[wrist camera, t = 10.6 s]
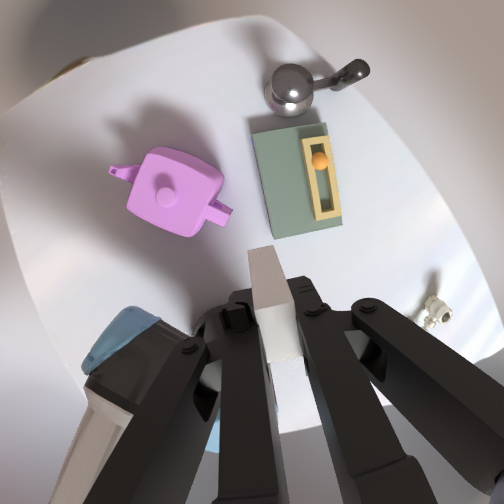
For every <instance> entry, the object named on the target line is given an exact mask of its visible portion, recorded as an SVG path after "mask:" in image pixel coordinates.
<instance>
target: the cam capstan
mask: <svg viewBox="0 0 504 504" xmlns="http://www.w3.org/2000/svg"><path fill="white" fill-rule="evenodd" d="M369 73H370V67H369V65H368V64H367V63H366V62H365V61H364V60H361V59H355V60H354V61H352V62H351V63H349V64H348V65H346V66H345V67H344V68H342V69H341V70H339V71H338V72H336V73H335V74H334V75H332V76H331V77H330V78H326V79H321V80H317V81H313V78H312V76H311V74H310V73H309V71H308V70H307V69H305V68H304V67H302V66H300V65H297V64H285V65H282V66H280V67H279V68H278V69H276V71H275V72H274V74H273V76H272V78H271V80H270V81H269V82H268V84H267V86H266V89H265V100H266V103H267V105H268V107H269V108H270V109H271V110H272V111H273V112H274V113H276V114H278V115H280V116H283V117H295V116H298V115H300V114H302V113H304V112H305V111H306V110H308V108H309V107H310V106H311V104H312V101H313V92H315V91H319V90H324V89H328V88H330V89H331V90H333V91H340V90H342V89H344V88H346V87H347V86H349V85H351V84H353V83H355V82H357V81H359V80H361V79H363V78H365V77H367V76H368V75H369Z"/></svg>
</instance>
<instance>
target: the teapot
mask: <svg viewBox="0 0 504 504" xmlns="http://www.w3.org/2000/svg"><path fill="white" fill-rule="evenodd" d="M108 173H109V174H111V175H113V176H115V177H119V178H121V179H124V180H126V181H128V182H131V183H133V186H132V189H131V192H130V194H129V197H128V201H127V204H126V208H127V209H128V210H129V211H130V212H131V213H133V214H134V215H136V216H138V217H140V218H142V219H143V220H145V221H147V222H149V223H151V224H153V225H155V226H158V227H160V228H162V229H165V230H167V231H170V232H172V233H175V234H178V235H181V236H184V237H191V236H193V235H195V234H197V233H198V232H199V230H200V229H201V228H202V226H203V224H204V222H205V220H206V219H207V220H209V221H211V222H213V223H215V224H218V225H220V226H222V227H224V226H225V224H226V222H227V221H228V219H229V217H230V215H231V213H232V211H233V210H232V209H231V208H229V207H227V206H226V205H224V204H222V203H221V202H219V201H218V200H216V198H217V196H218V194H219V191H220V189H221V187H222V184H223V182H224V175H223V174H222V173H221V172H220V171H218V170H217V169H215V168H214V167H212V166H211V165H209V164H207V163H206V162H204V161H202V160H200V159H198V158H196V157H194V156H192V155H189V154H187V153H184V152H181V151H178V150H175V149H171V148H167V147H156V148H153V149H151V150H150V151H149V152H148V153H147V154H146V156H145V158H144V160H143V162H142V164H141V165H111V166H110V169H109V172H108Z"/></svg>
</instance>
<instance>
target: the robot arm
mask: <svg viewBox="0 0 504 504" xmlns="http://www.w3.org/2000/svg"><path fill="white" fill-rule="evenodd" d="M248 259H249V268H250V277H251V286H252V288H249V289H244V290H240V291H235V292H233V293H232V294H231V296H230V297H229V303H227V304H225V305H222V306H218V307H216V308H213V309H211V310H210V311H208V312H207V313H205V314H204V315H203V316H202V317H201V318H200V320H199V321H198V323H197V325H196V327H195V331H194V336H193V337H190V336H188V335H186V334H185V333H183V332H181V331H179V330H178V329H176V328H174V327H172V326H171V325H169V324H168V323H166V322H164V321H163V320H161V318H160V317H156V316H154V315H152V314H150V313H149V312H147V311H145V310H143V309H141V308H140V307H137V306H129V307H126V308H124V309H123V310H122V311H121V312H120V313H119V314H118V315H117V316H116V317H115V318H114V319H113V321H112V322H111V323H110V324H109V325H108V327H107V328H106V329H105V330H104V332H103V333H102V334H101V336H100V337H99V338H98V340H97V341H96V343H95V344H94V345H93V347H92V348H91V350H90V352H89V353H88V355H87V357H86V358H85V359H84V361H83V363H82V365H81V368H82V371H83V372H84V374H85V375H87V376H88V375H89V377H88V379H87V381H86V383H85V385H84V387H83V388H84V391H85V394H86V397H87V400H88V407H87V409H86V411H85V414H84V416H83V418H82V420H81V422H80V425H79V427H78V429H77V432H76V434H75V436H74V438H73V441H72V443H71V445H70V448H69V450H68V453H67V455H66V458H65V460H64V463H63V465H62V468H61V470H60V473H59V476H58V478H57V481H56V484H55V486H54V489H53V492H52V495H51V497H50V500H49V503H48V504H185V502H186V500H187V497H188V494H189V492H190V489H191V486H192V484H193V481H194V478H195V475H196V472H197V470H198V467H199V464H200V462H201V459H202V456H203V453H204V451H205V450H207V451H210V452H215V453H219V480H218V483H219V484H218V486H219V487H218V497H217V498H216V499H215V500H214V501H212V504H290V502H289V495H288V489H287V482H286V476H285V469H284V463H283V456H282V450H281V443H280V437H279V430H278V415H277V413H278V406H277V402H276V396H275V391H274V385H273V380H272V374H271V369H270V363H272V362H277V361H282V360H286V359H291V358H295V357H299V356H303V357H304V364H305V371H306V376H308V378H309V381H310V384H311V388H312V391H313V395H314V398H315V402H316V405H317V409H318V412H319V416H320V419H321V423H322V426H323V429H324V433H325V437H326V440H327V444H328V447H329V451H330V455H331V458H332V462H333V466H334V470H335V473H336V477H337V481H338V484H339V488H340V492H341V496H342V499H343V503H344V504H438V503H437V501H436V498H435V496H434V494H433V491H432V489H431V487H430V485H429V482H428V481H427V478H426V476H425V474H424V472H423V470H422V467H421V466H420V464H419V462H418V461H417V459H416V458H414V456H410V455H407V454H406V453H405V452H404V450H403V449H402V446H401V444H400V442H399V440H398V438H397V436H396V434H395V431H394V429H393V428H392V425H391V423H390V421H389V419H388V417H387V415H386V413H385V411H384V409H383V407H382V405H381V403H380V401H379V399H378V397H377V395H376V393H375V391H374V389H373V387H372V385H371V383H370V381H371V382H372V383H373V385H374V386H375V387H376V388H377V389H378V390H379V391H380V392H381V393H382V394H383V395H384V396H385V397H386V398H387V399H388V400H389V401H390V402H391V403H392V404H393V405H394V406H395V407H396V408H397V409H398V411H400V413H401V414H402V415H403V416H404V417H405V418H406V419H407V420H408V421H409V422H410V423H411V424H412V425H413V426H414V427H415V428H416V429H417V430H418V431H419V432H420V433H421V434H422V435H423V436H424V437H425V438H426V440H427V441H428V442H429V443H431V445H432V446H433V447H434V448H435V449H436V450H437V451H438V452H439V453H440V454H441V455H442V456H443V457H444V458H445V459H446V460H447V461H448V462H449V463H450V464H451V465H452V466H453V467H454V468H455V470H457V472H458V473H459V474H460V475H461V476H462V477H463V478H464V479H465V480H467V481H468V482H469V483H470V484H471V485H472V486H473V487H475V488H476V489H478V490H479V491H481V492H483V493H484V494H487V495H489V496H490V502H489V504H504V387H503V386H502V385H501V384H499V383H498V382H497V381H495V380H494V379H492V378H491V377H490V376H489V375H487V374H486V373H484V372H483V371H482V370H480V369H479V368H478V367H476V366H475V365H473V364H472V363H471V362H469V361H468V360H467V359H465V358H464V357H462V356H461V355H460V354H458V353H457V352H455V351H454V350H452V349H451V348H450V347H448V346H447V345H445V344H444V343H443V342H441V341H440V340H438V339H437V338H435V337H434V336H432V335H431V334H430V333H428V332H427V331H425V330H424V329H422V328H421V327H419V326H418V325H417V324H415V323H414V322H412V321H411V320H409V319H408V318H406V317H405V316H403V315H402V314H400V313H399V312H397V311H396V310H394V309H393V308H391V307H390V306H388V305H387V304H385V303H384V302H382V301H381V300H378V299H375V298H363V299H360V300H358V301H356V302H354V303H353V305H352V306H351V311H335V310H332V309H331V307H330V306H329V305H328V304H326V303H323V302H322V300H321V298H320V296H319V294H318V292H317V291H316V289H315V287H314V285H313V283H312V281H311V280H310V279H309V278H307V277H305V276H300V277H296V278H291V279H287V280H286V278H285V275H284V273H283V270H282V267H281V265H280V262H279V259H278V257H277V254H276V251H275V249H274V246H273V245H271V246H266V247H261V248H257V249H252V250H248ZM302 353H303V354H302ZM369 380H370V381H369Z"/></svg>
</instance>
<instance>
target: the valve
mask: <svg viewBox="0 0 504 504" xmlns="http://www.w3.org/2000/svg"><path fill="white" fill-rule="evenodd" d="M424 306H425V309H426V310H427V311H428V312H429V315H428V316H426V317H425V319H424V322H425V323H424V327H421V328H422V329H424V330H425V331H427V332H428V328H431V327H434V326H435V325H436V321H438V322H439V323H440V324H441V325H442V324H446V323H448V321H449V320H450V319H451V317H452V311H451V309H450V308H449V307H448V306H447V305H446V303H445V302H444V301H442V300H440V299H439V298H438V297H437V296H435V295H433V296H429V297H428V298H427V300H426V301H425V303H424Z"/></svg>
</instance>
